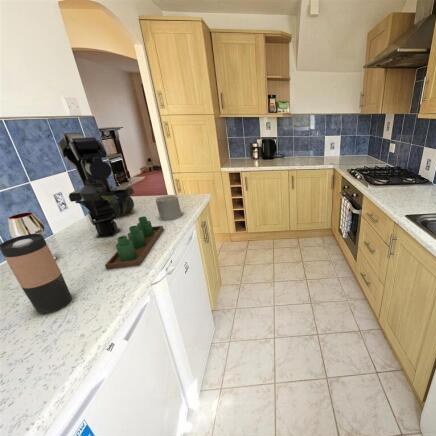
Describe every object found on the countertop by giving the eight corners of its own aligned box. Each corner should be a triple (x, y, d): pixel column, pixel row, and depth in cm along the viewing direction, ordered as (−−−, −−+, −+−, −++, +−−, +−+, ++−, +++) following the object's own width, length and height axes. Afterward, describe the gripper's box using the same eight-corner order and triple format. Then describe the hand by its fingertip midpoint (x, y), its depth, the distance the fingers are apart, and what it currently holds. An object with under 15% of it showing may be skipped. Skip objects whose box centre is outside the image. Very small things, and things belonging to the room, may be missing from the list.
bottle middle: (129, 250, 93) (123, 230, 89) (134, 244, 97) (128, 225, 94) (143, 249, 94) (137, 229, 90) (148, 242, 98) (142, 223, 95)
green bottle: (118, 263, 84) (110, 241, 81) (124, 255, 89) (117, 235, 85) (133, 261, 85) (126, 240, 81) (139, 254, 89) (132, 233, 86)
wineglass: (64, 257, 89) (43, 212, 82) (37, 270, 82) (11, 221, 75) (50, 254, 91) (28, 210, 84) (22, 266, 84) (-4, 219, 77)
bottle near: (139, 239, 101) (133, 220, 98) (143, 233, 106) (138, 215, 103) (151, 237, 102) (146, 219, 99) (155, 232, 107) (150, 214, 103)
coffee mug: (182, 217, 122) (178, 198, 118) (160, 221, 117) (155, 202, 113) (179, 209, 133) (175, 192, 129) (159, 213, 128) (154, 195, 124)
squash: (89, 207, 123) (95, 187, 115) (118, 199, 136) (125, 181, 128) (108, 227, 122) (115, 209, 115) (135, 217, 135) (143, 200, 127)
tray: (106, 269, 81) (104, 264, 81) (139, 231, 108) (137, 228, 107) (139, 265, 83) (138, 260, 82) (163, 229, 109) (162, 225, 109)
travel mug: (51, 296, 70) (19, 234, 62) (79, 294, 70) (51, 232, 62) (27, 316, 63) (-13, 249, 55) (58, 313, 63) (23, 247, 55)
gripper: (49, 182, 77) (68, 226, 83) (114, 178, 80) (128, 221, 86) (71, 174, 87) (86, 214, 93) (128, 171, 90) (139, 210, 96)
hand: (110, 215), depth 92 cm, fingers open, 9 cm apart
